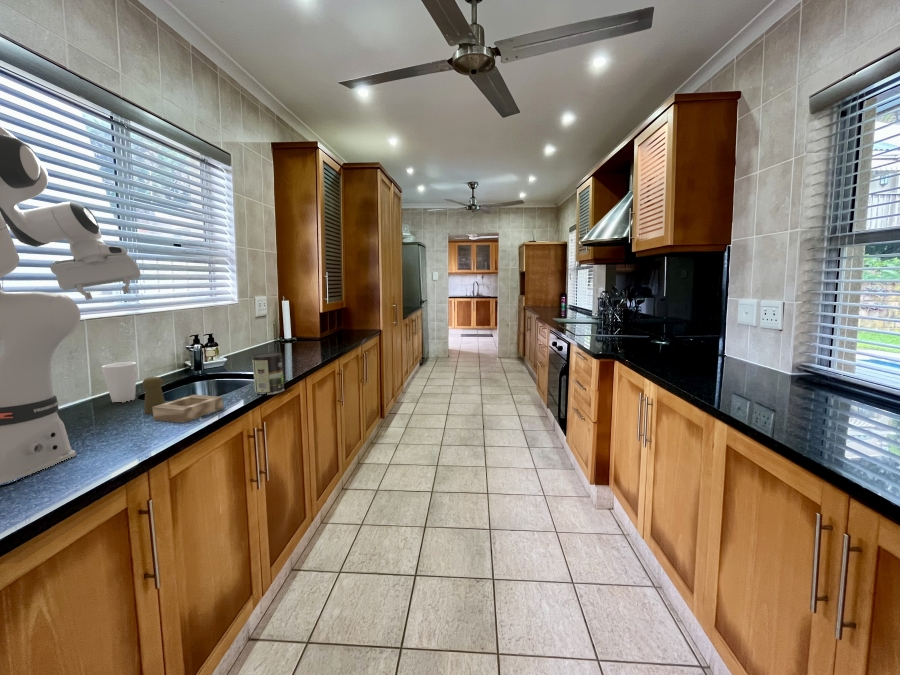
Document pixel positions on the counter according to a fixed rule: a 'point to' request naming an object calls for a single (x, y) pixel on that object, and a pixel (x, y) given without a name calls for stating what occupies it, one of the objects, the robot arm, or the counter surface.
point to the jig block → (187, 408)
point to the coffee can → (268, 373)
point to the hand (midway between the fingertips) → (108, 295)
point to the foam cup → (120, 380)
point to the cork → (152, 393)
